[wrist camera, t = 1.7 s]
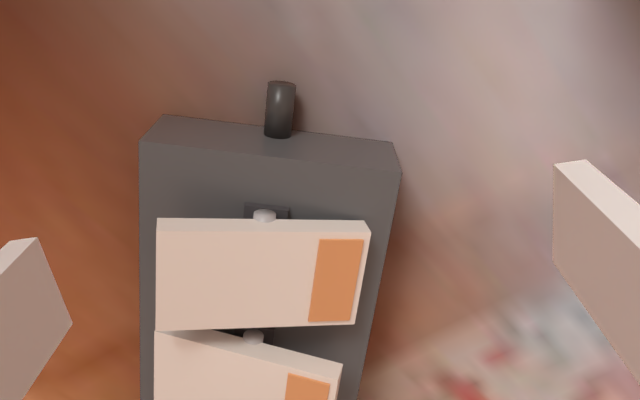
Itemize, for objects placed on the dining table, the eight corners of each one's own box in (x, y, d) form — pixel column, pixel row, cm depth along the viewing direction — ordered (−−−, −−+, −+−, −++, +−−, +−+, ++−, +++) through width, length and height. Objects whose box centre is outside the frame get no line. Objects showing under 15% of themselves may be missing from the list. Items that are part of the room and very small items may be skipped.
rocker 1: (156, 309, 32) (155, 336, 30) (157, 207, 30) (156, 228, 28) (344, 304, 35) (354, 328, 33) (360, 210, 32) (372, 230, 30)
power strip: (158, 449, 46) (138, 511, 41) (163, 64, 33) (135, 86, 28) (331, 466, 47) (332, 529, 42) (401, 94, 34) (414, 121, 29)
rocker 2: (170, 387, 38) (152, 413, 36) (171, 307, 35) (152, 329, 33) (331, 433, 36) (323, 462, 34) (346, 352, 33) (338, 379, 31)
